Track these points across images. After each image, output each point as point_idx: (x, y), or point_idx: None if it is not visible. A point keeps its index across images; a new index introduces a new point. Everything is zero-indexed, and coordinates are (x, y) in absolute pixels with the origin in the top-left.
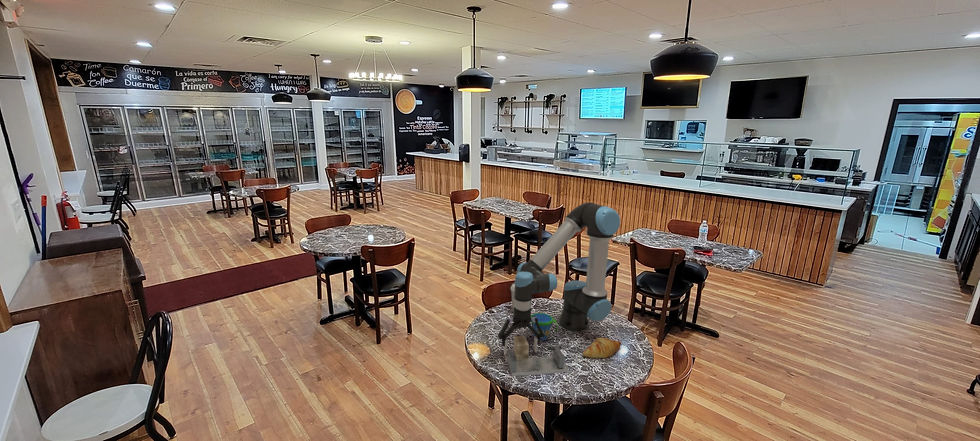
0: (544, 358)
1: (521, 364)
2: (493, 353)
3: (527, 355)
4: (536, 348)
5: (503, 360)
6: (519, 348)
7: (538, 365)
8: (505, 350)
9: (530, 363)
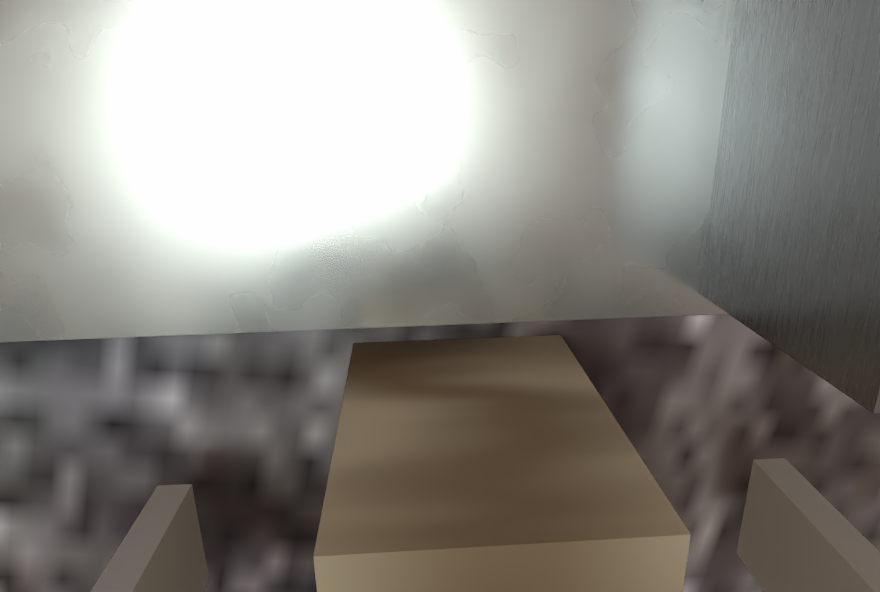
0: (3, 273)
1: (560, 90)
2: (874, 530)
3: (367, 379)
4: (130, 546)
5: None
6: (597, 478)
7: (167, 3)
8: (826, 507)
9: (349, 109)
